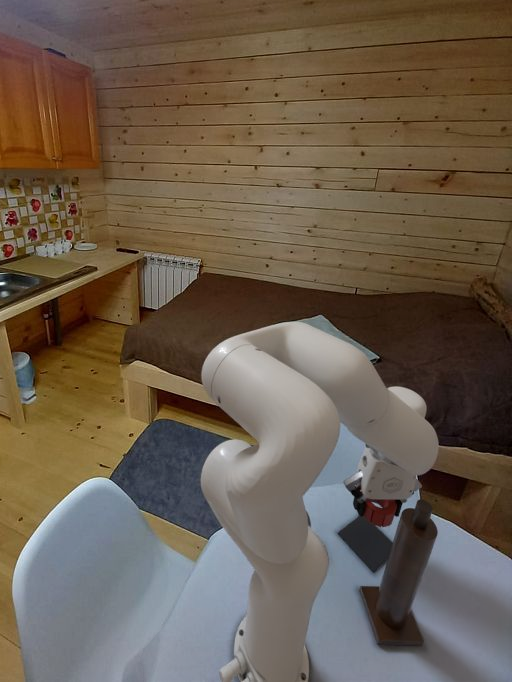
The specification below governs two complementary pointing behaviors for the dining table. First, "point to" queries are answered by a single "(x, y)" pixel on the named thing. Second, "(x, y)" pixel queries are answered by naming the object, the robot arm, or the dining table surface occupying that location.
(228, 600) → the dining table surface
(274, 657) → the robot arm
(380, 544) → the felt mat
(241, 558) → the dining table surface
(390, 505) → the ring
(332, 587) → the dining table surface
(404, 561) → the ring holder
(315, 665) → the dining table surface
